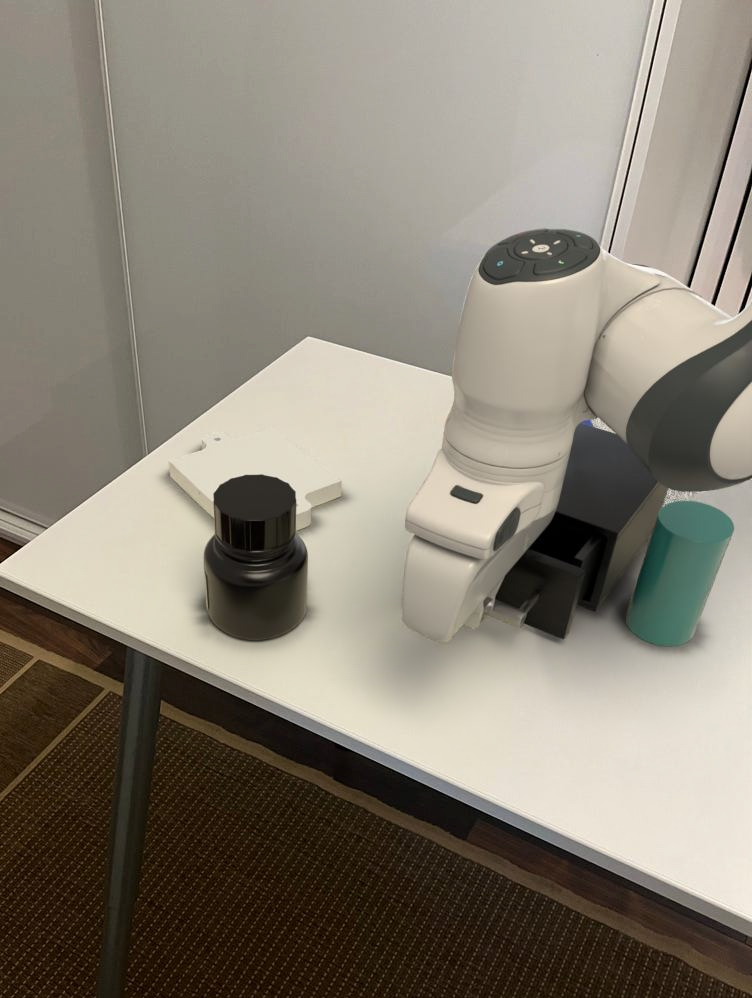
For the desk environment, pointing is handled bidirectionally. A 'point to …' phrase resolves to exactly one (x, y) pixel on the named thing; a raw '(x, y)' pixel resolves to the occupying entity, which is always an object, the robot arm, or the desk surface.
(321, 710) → the desk surface
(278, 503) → the ink bottle
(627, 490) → the cabinet
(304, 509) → the mounting plate
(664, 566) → the teal cylinder
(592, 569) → the drawer
